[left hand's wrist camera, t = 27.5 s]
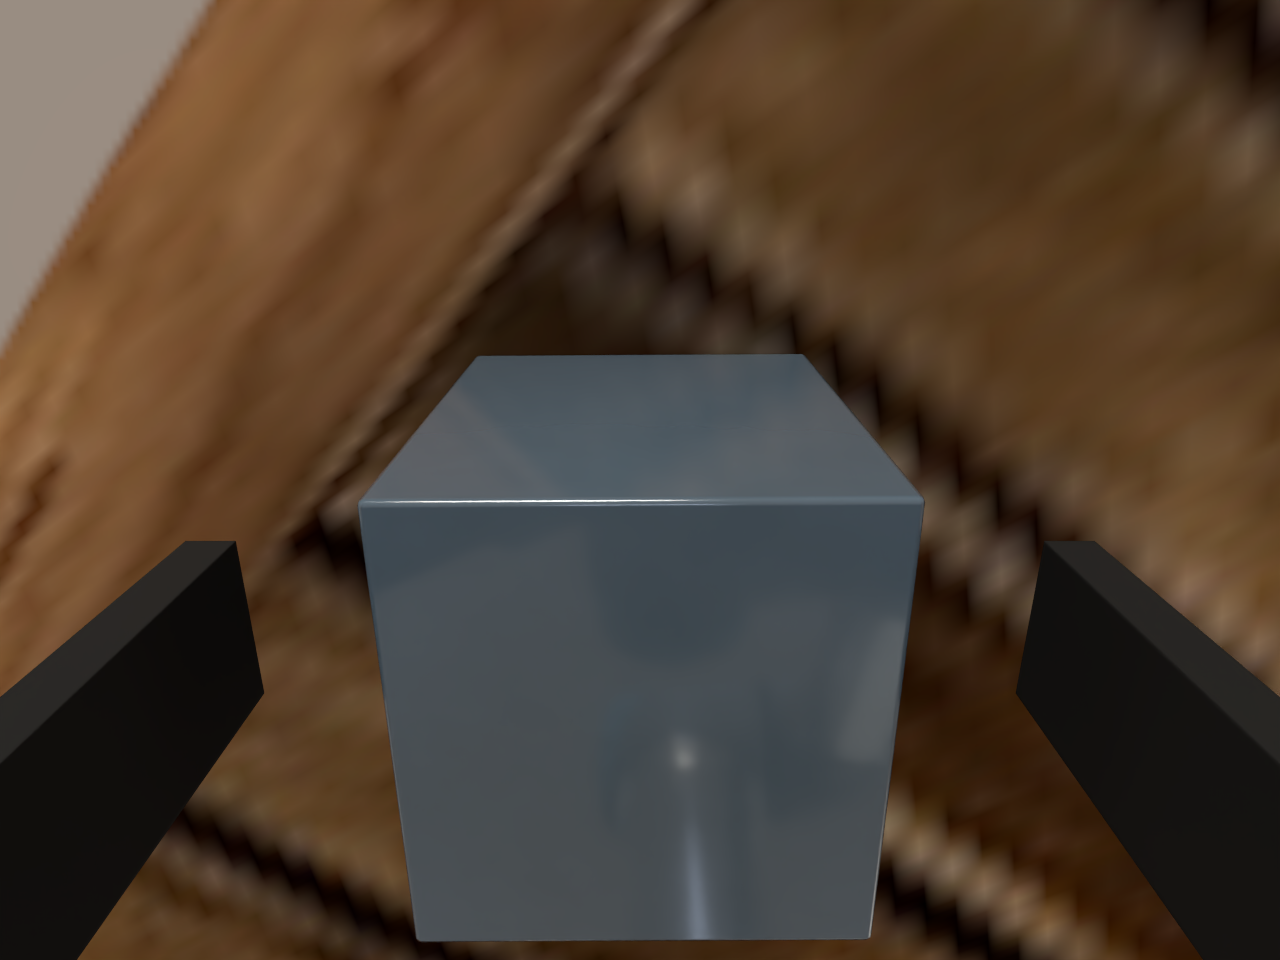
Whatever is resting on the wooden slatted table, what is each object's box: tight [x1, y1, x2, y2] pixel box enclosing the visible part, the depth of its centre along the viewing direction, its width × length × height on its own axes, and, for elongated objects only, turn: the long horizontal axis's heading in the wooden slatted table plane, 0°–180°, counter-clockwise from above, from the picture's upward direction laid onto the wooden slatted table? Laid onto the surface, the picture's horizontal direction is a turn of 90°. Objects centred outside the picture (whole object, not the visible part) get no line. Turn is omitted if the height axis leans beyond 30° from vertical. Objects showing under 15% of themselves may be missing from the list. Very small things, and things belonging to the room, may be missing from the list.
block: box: [357, 354, 925, 942], centre depth 14 cm, size 6×6×7 cm
